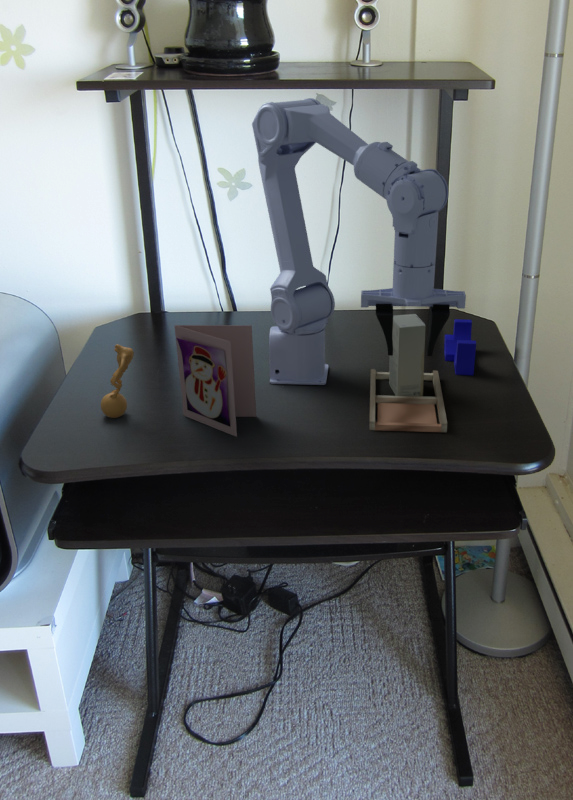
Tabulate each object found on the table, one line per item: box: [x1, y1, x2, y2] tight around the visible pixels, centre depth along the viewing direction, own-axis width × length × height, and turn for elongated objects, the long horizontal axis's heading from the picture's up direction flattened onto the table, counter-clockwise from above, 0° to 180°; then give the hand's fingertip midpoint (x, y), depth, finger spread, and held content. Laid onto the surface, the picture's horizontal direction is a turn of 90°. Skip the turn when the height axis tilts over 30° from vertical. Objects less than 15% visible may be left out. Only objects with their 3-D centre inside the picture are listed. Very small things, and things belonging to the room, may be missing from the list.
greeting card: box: [174, 324, 257, 438], centre depth 109 cm, size 11×7×15 cm, turn 50°
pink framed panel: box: [368, 368, 448, 433], centre depth 116 cm, size 11×19×2 cm, turn 174°
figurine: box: [100, 343, 135, 419], centre depth 112 cm, size 8×6×12 cm
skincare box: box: [388, 313, 427, 396], centre depth 118 cm, size 6×4×12 cm
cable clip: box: [443, 318, 477, 376], centre depth 129 cm, size 12×4×6 cm, turn 171°
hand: (409, 353), depth 108 cm, fingers open, 5 cm apart
